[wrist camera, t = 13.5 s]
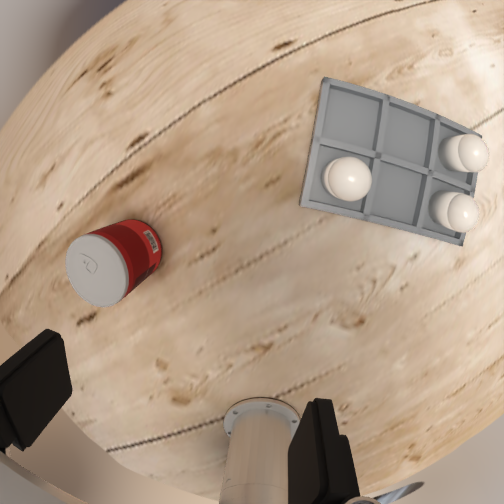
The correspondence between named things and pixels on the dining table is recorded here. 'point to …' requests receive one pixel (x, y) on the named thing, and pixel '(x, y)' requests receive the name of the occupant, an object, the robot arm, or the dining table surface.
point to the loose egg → (346, 178)
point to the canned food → (112, 261)
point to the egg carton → (384, 158)
